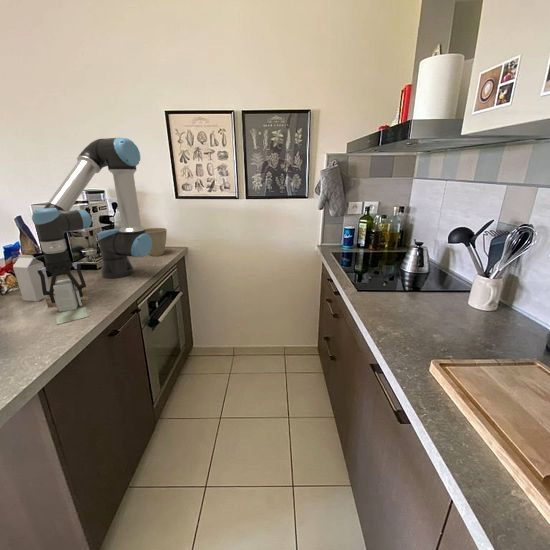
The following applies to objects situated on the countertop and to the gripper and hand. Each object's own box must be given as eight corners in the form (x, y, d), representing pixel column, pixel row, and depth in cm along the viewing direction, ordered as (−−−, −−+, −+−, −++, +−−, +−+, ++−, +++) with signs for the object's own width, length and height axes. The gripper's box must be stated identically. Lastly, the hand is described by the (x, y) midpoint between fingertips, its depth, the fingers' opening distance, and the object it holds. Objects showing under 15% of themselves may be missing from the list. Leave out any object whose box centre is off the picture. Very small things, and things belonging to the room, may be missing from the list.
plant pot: (161, 258, 184) (157, 232, 179) (139, 257, 188) (135, 231, 182) (174, 252, 198) (171, 228, 193) (154, 250, 201) (150, 227, 196)
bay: (88, 298, 128) (86, 289, 127) (95, 315, 113) (93, 305, 112) (48, 307, 120) (45, 297, 119) (50, 326, 105) (47, 316, 104)
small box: (64, 304, 122) (57, 280, 119) (79, 302, 124) (73, 278, 121) (59, 312, 115) (52, 286, 112) (76, 309, 117) (69, 284, 114)
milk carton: (37, 301, 125) (24, 258, 119) (23, 300, 126) (9, 257, 120) (52, 295, 132) (40, 253, 125) (39, 294, 133) (26, 252, 127)
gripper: (21, 257, 103) (39, 317, 111) (87, 248, 115) (99, 303, 122) (22, 253, 109) (39, 310, 117) (84, 245, 120) (96, 298, 128)
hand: (69, 307), depth 119 cm, fingers open, 7 cm apart
